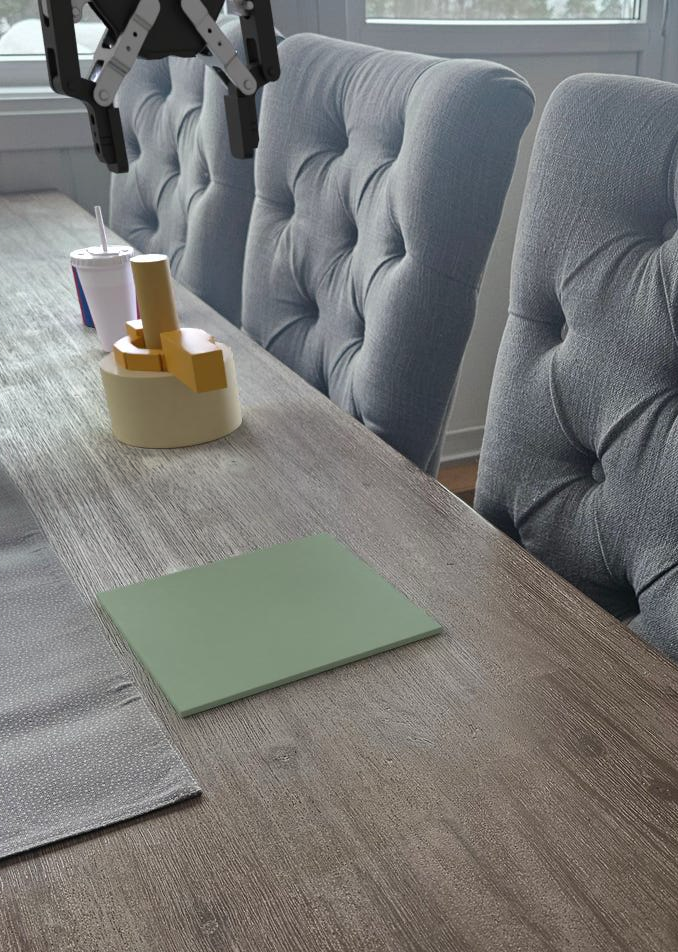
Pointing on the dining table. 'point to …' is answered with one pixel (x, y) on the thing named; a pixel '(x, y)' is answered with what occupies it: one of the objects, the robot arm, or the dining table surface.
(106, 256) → the smoothie
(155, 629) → the mat
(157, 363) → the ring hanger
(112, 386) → the stand
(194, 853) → the dining table surface
